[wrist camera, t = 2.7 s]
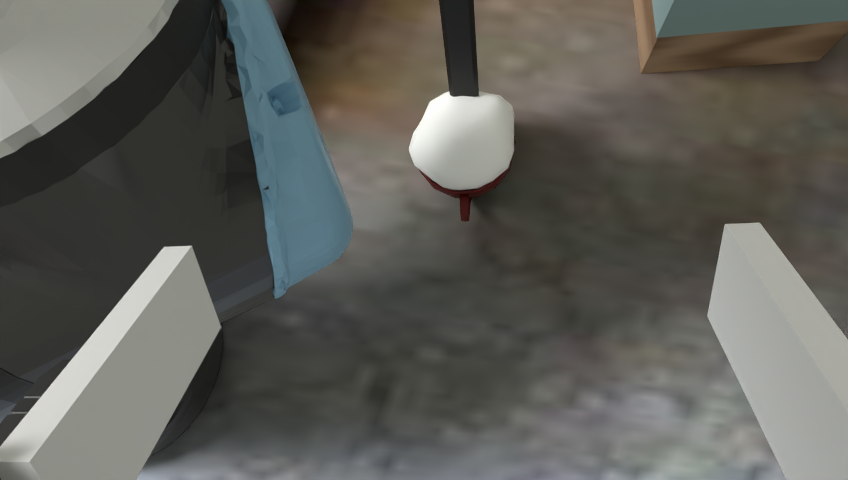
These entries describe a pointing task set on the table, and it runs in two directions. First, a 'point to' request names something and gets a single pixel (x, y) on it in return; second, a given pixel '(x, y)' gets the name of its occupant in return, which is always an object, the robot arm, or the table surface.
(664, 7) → the tower top
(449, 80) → the cocoa
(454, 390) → the table surface
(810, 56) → the tower base
